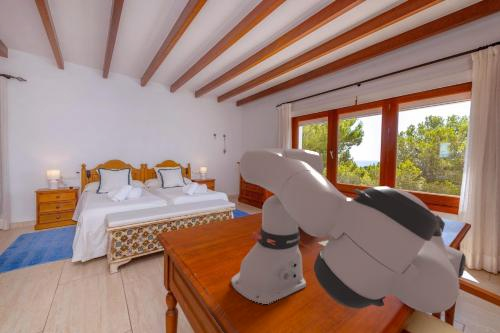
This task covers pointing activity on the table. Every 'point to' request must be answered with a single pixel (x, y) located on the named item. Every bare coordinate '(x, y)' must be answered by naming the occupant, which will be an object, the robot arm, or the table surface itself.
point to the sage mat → (323, 243)
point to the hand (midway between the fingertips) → (364, 231)
